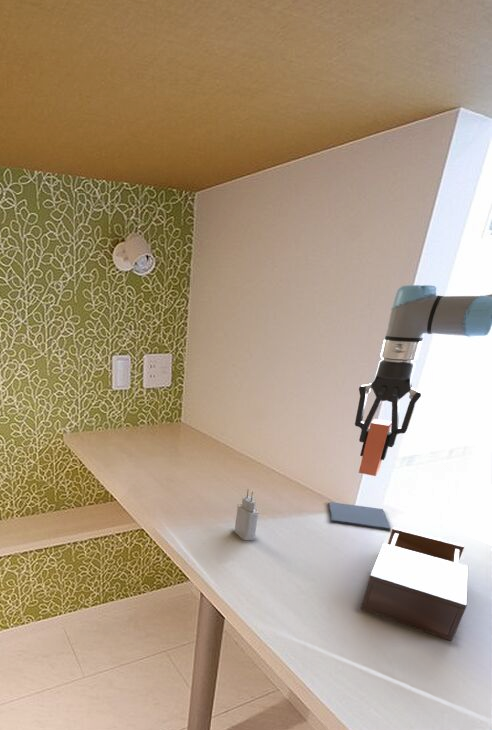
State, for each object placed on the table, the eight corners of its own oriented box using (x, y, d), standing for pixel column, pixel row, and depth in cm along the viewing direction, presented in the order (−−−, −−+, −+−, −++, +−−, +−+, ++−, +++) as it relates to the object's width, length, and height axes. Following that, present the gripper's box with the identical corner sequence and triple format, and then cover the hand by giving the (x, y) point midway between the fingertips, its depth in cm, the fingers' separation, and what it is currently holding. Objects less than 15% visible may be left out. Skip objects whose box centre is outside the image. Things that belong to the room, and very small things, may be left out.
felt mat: (382, 510, 121) (382, 509, 120) (390, 530, 110) (390, 528, 110) (328, 503, 125) (329, 501, 124) (331, 521, 114) (331, 519, 114)
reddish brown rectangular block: (362, 467, 115) (374, 418, 109) (378, 470, 113) (392, 421, 107) (358, 472, 111) (370, 422, 106) (375, 476, 109) (389, 425, 103)
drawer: (389, 541, 103) (395, 520, 101) (456, 559, 96) (464, 537, 94) (376, 575, 90) (383, 552, 88) (452, 599, 83) (462, 574, 81)
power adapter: (244, 540, 104) (251, 495, 99) (233, 530, 109) (238, 486, 104) (255, 538, 105) (262, 493, 100) (244, 528, 110) (249, 485, 105)
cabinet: (374, 573, 93) (383, 542, 89) (455, 598, 85) (468, 566, 82) (360, 608, 82) (370, 575, 79) (451, 641, 74) (466, 605, 71)
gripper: (354, 358, 102) (333, 453, 112) (439, 365, 93) (408, 468, 103) (361, 355, 107) (340, 446, 117) (442, 362, 99) (412, 459, 109)
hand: (372, 456), depth 110 cm, fingers closed on reddish brown rectangular block, 4 cm apart
